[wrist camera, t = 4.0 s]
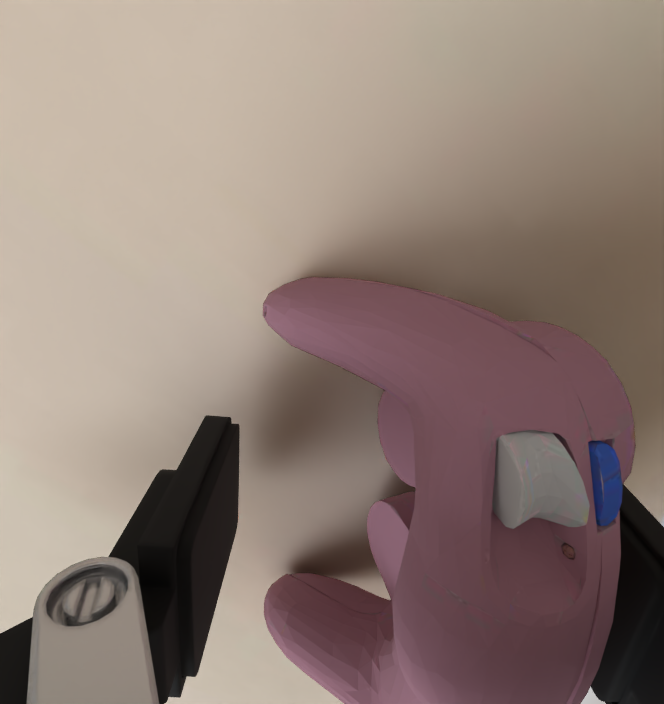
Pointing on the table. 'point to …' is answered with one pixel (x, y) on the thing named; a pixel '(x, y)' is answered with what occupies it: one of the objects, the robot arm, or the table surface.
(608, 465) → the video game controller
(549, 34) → the table surface
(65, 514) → the table surface
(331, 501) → the table surface
